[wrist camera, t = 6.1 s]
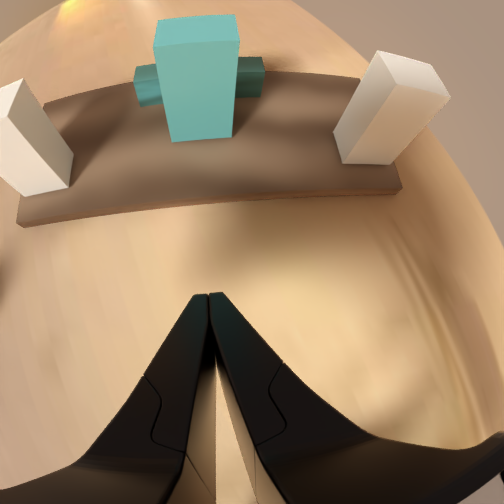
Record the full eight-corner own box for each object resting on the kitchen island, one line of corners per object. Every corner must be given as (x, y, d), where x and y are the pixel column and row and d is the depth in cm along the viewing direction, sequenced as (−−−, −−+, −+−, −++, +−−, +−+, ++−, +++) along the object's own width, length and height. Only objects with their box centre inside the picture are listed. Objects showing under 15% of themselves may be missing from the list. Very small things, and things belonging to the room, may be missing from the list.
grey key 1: (389, 164, 22) (450, 97, 13) (342, 163, 22) (396, 84, 13) (378, 134, 23) (430, 64, 14) (333, 132, 22) (377, 50, 14)
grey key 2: (68, 187, 19) (7, 116, 10) (24, 196, 18) (-41, 138, 10) (73, 154, 20) (23, 78, 11) (31, 164, 19) (-25, 100, 10)
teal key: (231, 137, 21) (239, 40, 12) (171, 142, 21) (152, 47, 12) (228, 108, 22) (234, 14, 13) (172, 112, 21) (158, 20, 13)
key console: (395, 194, 23) (422, 171, 19) (23, 228, 19) (-5, 209, 15) (355, 86, 26) (370, 58, 22) (49, 110, 22) (32, 84, 18)
